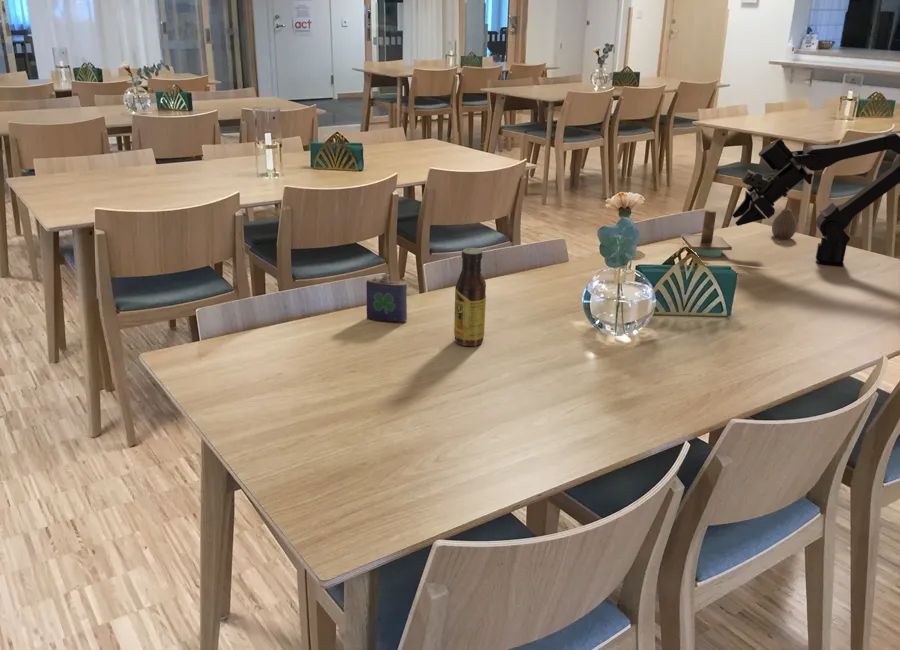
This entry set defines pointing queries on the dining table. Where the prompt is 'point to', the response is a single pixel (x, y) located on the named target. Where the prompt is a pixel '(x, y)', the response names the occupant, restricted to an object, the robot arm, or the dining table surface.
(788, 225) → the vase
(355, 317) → the dining table surface
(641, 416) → the dining table surface
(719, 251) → the dish
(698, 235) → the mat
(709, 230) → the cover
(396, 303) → the flask
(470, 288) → the sauce bottle
